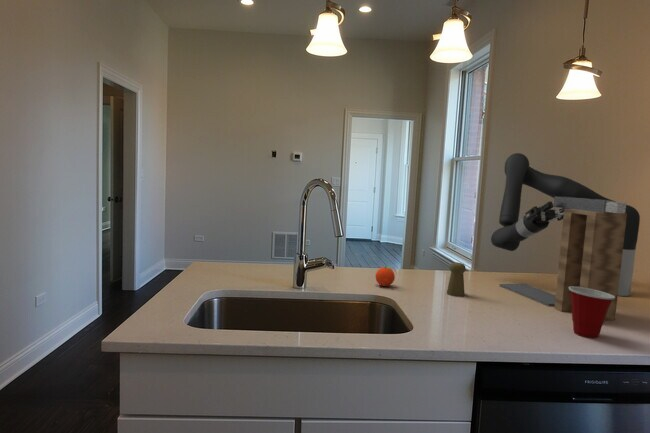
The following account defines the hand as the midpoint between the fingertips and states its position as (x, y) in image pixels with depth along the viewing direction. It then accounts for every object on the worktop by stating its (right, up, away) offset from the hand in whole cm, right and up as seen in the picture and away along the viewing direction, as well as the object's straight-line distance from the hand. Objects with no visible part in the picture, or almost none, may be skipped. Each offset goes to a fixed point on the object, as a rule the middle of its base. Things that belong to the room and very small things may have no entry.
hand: (562, 204), depth 147 cm
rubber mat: (-4, -32, +11) cm, 34 cm away
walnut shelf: (+1, -34, -9) cm, 36 cm away
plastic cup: (-9, -36, -28) cm, 46 cm away
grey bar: (+2, -2, -9) cm, 10 cm away
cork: (-33, -31, +7) cm, 46 cm away
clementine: (-57, -29, +14) cm, 65 cm away
